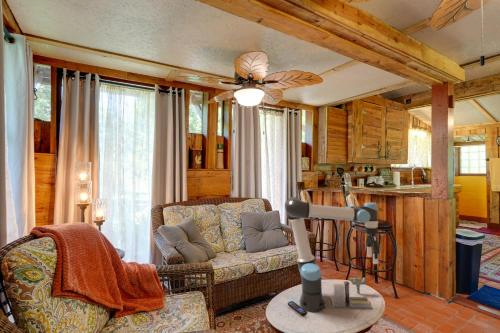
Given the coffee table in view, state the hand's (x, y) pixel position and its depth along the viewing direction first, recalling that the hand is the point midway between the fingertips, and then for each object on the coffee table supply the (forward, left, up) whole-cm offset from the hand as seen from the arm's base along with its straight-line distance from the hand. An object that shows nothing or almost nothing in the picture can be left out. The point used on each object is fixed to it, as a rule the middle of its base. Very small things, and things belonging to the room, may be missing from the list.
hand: (372, 260), depth 174 cm
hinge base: (-17, -11, -22) cm, 31 cm away
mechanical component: (-9, +3, -23) cm, 25 cm away
